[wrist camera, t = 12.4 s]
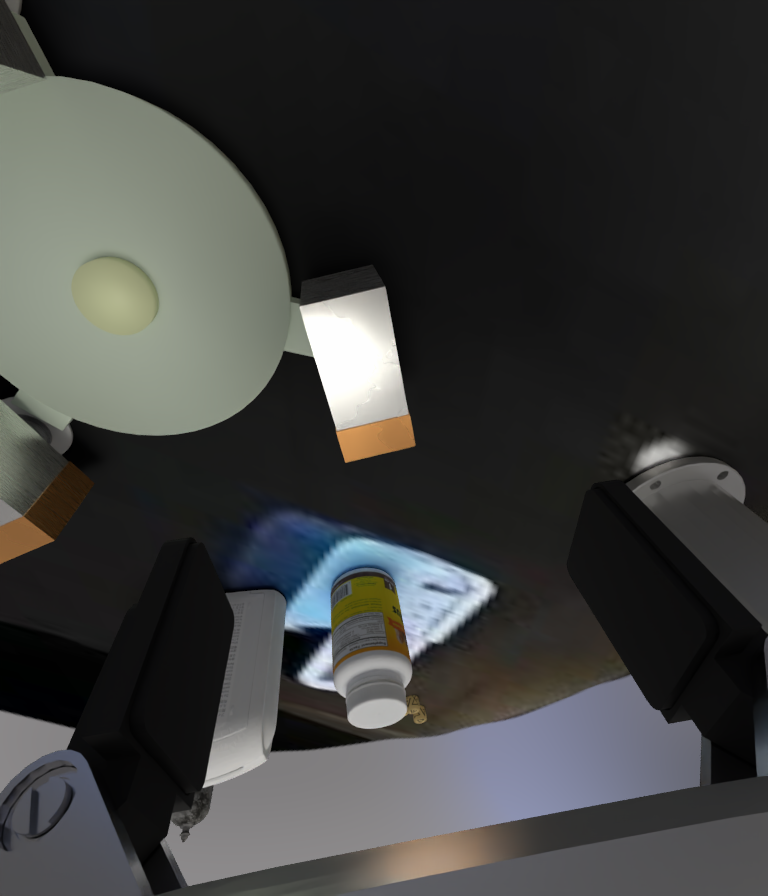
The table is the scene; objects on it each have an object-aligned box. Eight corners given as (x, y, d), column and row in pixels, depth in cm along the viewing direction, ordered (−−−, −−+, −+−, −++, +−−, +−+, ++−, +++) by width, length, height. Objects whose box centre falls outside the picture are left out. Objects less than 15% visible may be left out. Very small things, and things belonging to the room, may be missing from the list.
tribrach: (401, 343, 24) (410, 362, 22) (136, 526, 29) (121, 557, 27) (-13, -268, 12) (-90, -370, 10) (-348, 216, 17) (-453, 224, 15)
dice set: (375, 694, 47) (377, 712, 46) (419, 684, 47) (422, 702, 46) (382, 714, 50) (384, 732, 49) (424, 705, 50) (427, 722, 49)
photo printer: (166, 629, 35) (106, 816, 25) (149, 597, 33) (75, 789, 23) (289, 613, 36) (279, 786, 26) (282, 581, 34) (267, 758, 24)
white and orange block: (302, 275, 21) (297, 307, 16) (370, 259, 21) (386, 286, 16) (339, 406, 25) (345, 462, 20) (396, 392, 25) (415, 445, 20)
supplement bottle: (394, 603, 38) (416, 729, 29) (331, 609, 37) (336, 740, 28) (396, 560, 34) (422, 688, 26) (328, 566, 34) (332, 699, 25)
